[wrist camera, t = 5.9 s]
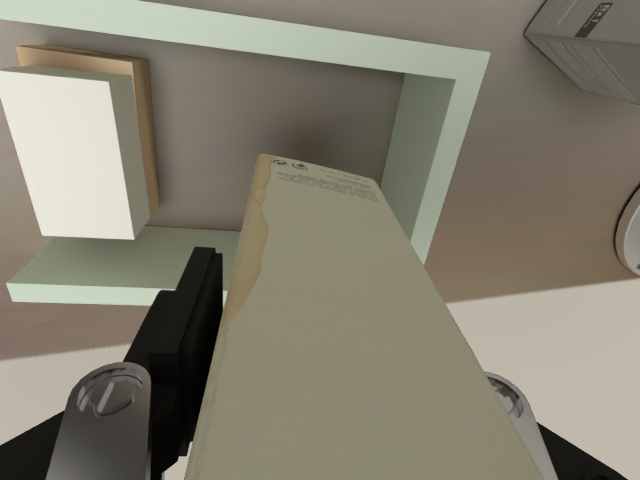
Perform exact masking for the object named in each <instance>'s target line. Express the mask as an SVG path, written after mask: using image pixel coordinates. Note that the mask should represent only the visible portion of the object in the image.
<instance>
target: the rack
mask: <svg viewBox="0 0 640 480" xmlns="http://www.w3.org/2000/svg"><path fill="white" fill-rule="evenodd" d="M0 19H5V20H13V21H20V22H28V23H35V24H43V25H50V26H58V27H65V28H73V29H80V30H88V31H95V32H103V33H110V34H118V35H125V36H133V37H140V38H148V39H155V40H163V41H170V42H178V43H185V44H193V45H200V46H208V47H215V48H223V49H230V50H238V51H245V52H253V53H260V54H268V55H275V56H283V57H290V58H298V59H305V60H313V61H320V62H328V63H335V64H343V65H350V66H358V67H365V68H373V69H380V70H388V71H395V72H403V73H405V76H404V81H403V85H402V90H401V95H400V99H399V104H398V108H397V113H396V118H395V122H394V127H393V131H392V136H391V141H390V145H389V150H388V154H387V159H386V163H385V168H384V173H383V177H382V182H381V186H380V190H381V192H382V194H383V195H384V197H385V199H386V201H387V202H388V204H389V206H390V208H391V210H392V211H393V213H394V215H395V217H396V218H397V220H398V222H399V224H400V225H401V227H402V229H403V231H404V233H405V235H406V236H407V238H408V239H409V241H410V243H411V245H412V246H413V248H414V250H415V252H416V253H417V255H418V257H419V259H420V260H421V262H422V264H423V265H424V263H425V260H426V257H427V254H428V251H429V247H430V244H431V241H432V238H433V235H434V232H435V228H436V225H437V222H438V219H439V216H440V213H441V209H442V206H443V203H444V200H445V197H446V194H447V190H448V187H449V184H450V181H451V178H452V175H453V171H454V168H455V165H456V162H457V159H458V156H459V152H460V149H461V146H462V143H463V140H464V137H465V133H466V130H467V127H468V124H469V121H470V118H471V114H472V111H473V108H474V105H475V102H476V99H477V95H478V92H479V89H480V86H481V83H482V80H483V77H484V73H485V70H486V67H487V64H488V61H489V58H490V54H491V52H484V51H477V50H470V49H464V48H457V47H450V46H443V45H437V44H430V43H423V42H416V41H409V40H403V39H396V38H389V37H382V36H376V35H369V34H362V33H355V32H348V31H342V30H335V29H328V28H321V27H315V26H308V25H301V24H294V23H287V22H281V21H274V20H267V19H260V18H254V17H247V16H240V15H233V14H226V13H220V12H213V11H206V10H199V9H193V8H186V7H179V6H172V5H166V4H159V3H152V2H145V1H138V0H0ZM240 234H241V231H224V230H207V229H190V228H174V227H157V226H144V227H143V228H142V230H141V231H140V232H139V234H138V235H137V237H136V238H135V239H134V240H129V239H107V238H85V237H63V236H57V237H56V238H55V239H54V240H53V241H51V242H50V243H49V244H48V245H47V246H46V247H45V248H44V249H43V250H42V251H41V252H39V253H38V254H37V255H36V256H35V257H34V258H33V259H32V260H31V261H30V262H29V263H27V264H26V265H25V266H24V267H23V268H22V269H21V270H20V271H19V272H18V273H16V274H15V275H14V276H13V277H12V278H11V279H10V280H9V281H8V282H7V283H6V285H7V287H8V290H9V293H10V295H11V298H12V301H13V302H47V303H82V304H117V305H152V304H153V302H154V300H155V298H156V296H157V294H158V292H159V291H160V290H175V289H176V287H177V285H178V283H179V280H180V278H181V276H182V274H183V272H184V269H185V267H186V265H187V263H188V260H189V258H190V256H191V254H192V251H193V249H194V247H196V246H197V247H212V248H215V249H216V253H222V255H223V308H224V305H225V300H226V296H227V292H228V287H229V283H230V279H231V274H232V270H233V265H234V261H235V256H236V252H237V247H238V243H239V238H240Z"/></svg>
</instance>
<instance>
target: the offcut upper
mask: <svg viewBox="0 0 640 480" xmlns="http://www.w3.org/2000/svg"><path fill="white" fill-rule="evenodd" d="M0 98H1V101H2V104H3V108H4V111H5V114H6V118H7V121H8V124H9V128H10V131H11V134H12V137H13V141H14V144H15V147H16V151H17V154H18V157H19V160H20V164H21V167H22V170H23V174H24V177H25V180H26V184H27V187H28V190H29V193H30V197H31V200H32V203H33V207H34V210H35V213H36V216H37V220H38V223H39V226H40V230H41V233H42V236H63V237H85V238H107V239H129V240H134V239H135V238H136V237H137V235H138V234H139V232H140V231H141V230H142V228H143V227H144V225H145V224H146V223H147V221H148V220H149V218H150V211H149V204H148V196H147V189H146V181H145V174H144V166H143V159H142V151H141V144H140V136H139V129H138V121H137V114H136V106H135V99H134V91H133V84H132V76H131V75H121V74H112V73H102V72H92V71H83V70H73V69H63V68H54V67H44V66H35V65H29V66H21V67H12V68H4V69H0Z"/></svg>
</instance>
